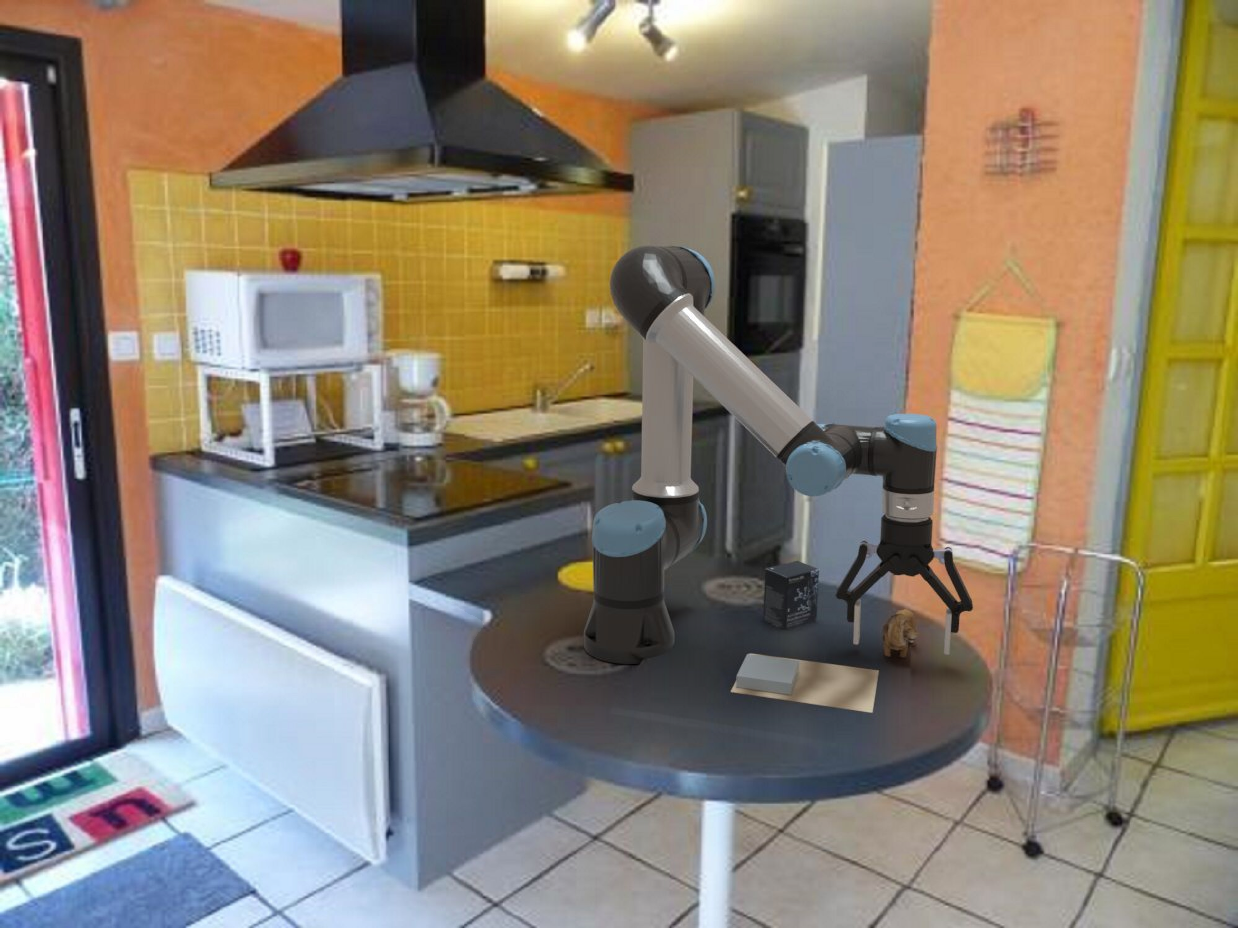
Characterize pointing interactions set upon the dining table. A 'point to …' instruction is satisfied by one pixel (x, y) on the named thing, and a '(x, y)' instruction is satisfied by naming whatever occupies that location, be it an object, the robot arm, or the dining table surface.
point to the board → (828, 686)
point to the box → (791, 594)
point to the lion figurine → (899, 632)
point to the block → (768, 674)
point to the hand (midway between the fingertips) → (900, 646)
